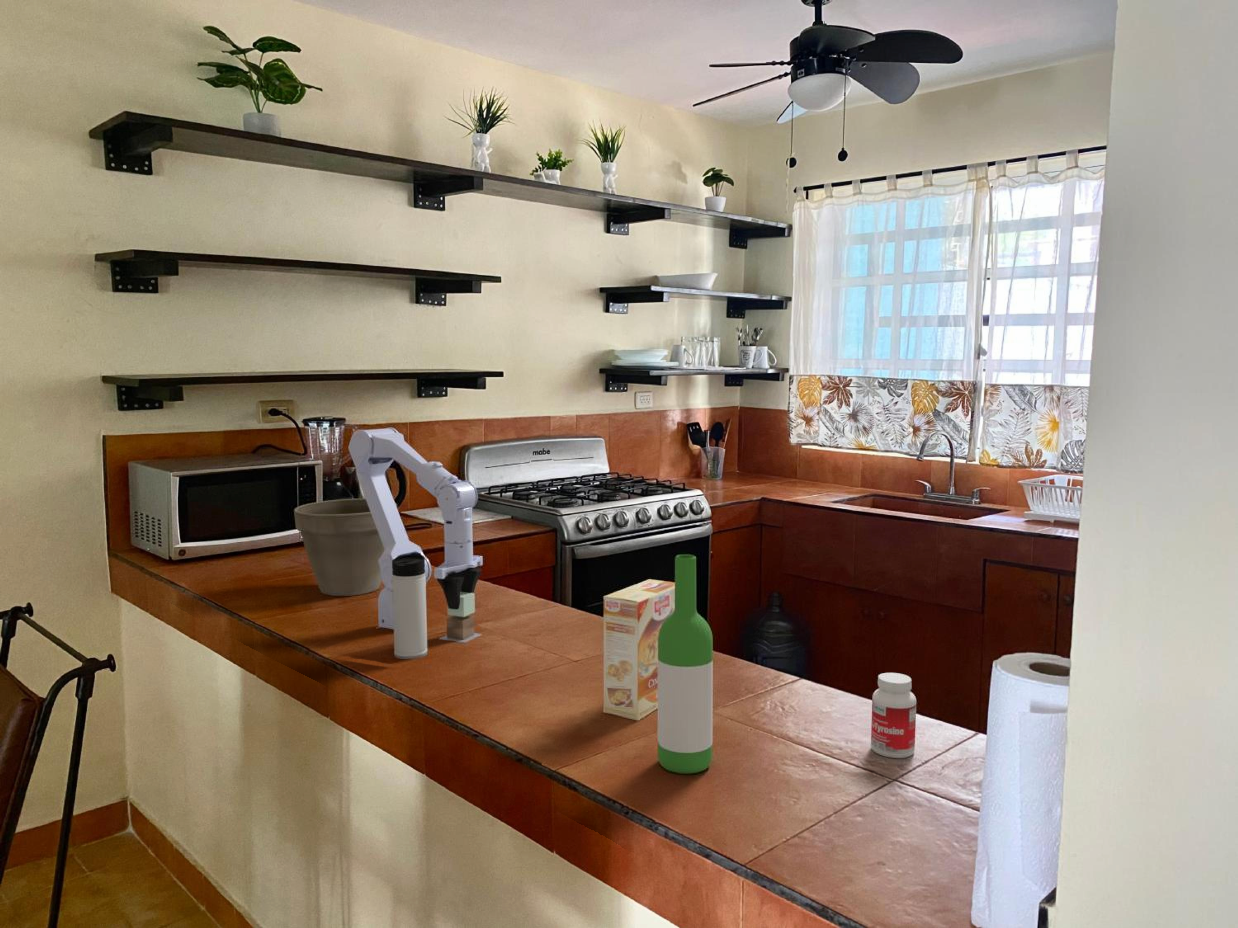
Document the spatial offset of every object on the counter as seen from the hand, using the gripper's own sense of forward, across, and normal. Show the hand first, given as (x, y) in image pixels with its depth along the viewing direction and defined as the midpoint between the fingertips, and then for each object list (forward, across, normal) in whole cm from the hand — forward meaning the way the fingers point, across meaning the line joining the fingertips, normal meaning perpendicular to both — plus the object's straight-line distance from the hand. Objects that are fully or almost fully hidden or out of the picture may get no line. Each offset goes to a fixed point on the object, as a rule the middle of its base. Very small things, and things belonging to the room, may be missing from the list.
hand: (460, 605), depth 193 cm
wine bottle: (+7, -38, -64) cm, 75 cm away
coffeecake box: (+7, -18, -49) cm, 53 cm away
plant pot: (+7, +25, +51) cm, 57 cm away
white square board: (+7, 0, 0) cm, 7 cm away
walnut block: (+6, 0, 0) cm, 6 cm away
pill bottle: (+7, -21, -90) cm, 93 cm away
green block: (+2, 0, 0) cm, 2 cm away
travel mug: (+7, -14, +2) cm, 16 cm away
